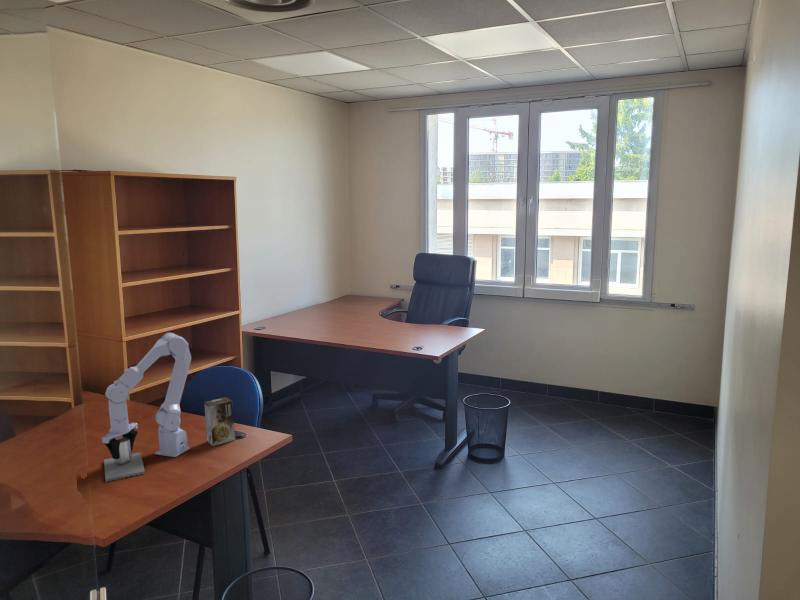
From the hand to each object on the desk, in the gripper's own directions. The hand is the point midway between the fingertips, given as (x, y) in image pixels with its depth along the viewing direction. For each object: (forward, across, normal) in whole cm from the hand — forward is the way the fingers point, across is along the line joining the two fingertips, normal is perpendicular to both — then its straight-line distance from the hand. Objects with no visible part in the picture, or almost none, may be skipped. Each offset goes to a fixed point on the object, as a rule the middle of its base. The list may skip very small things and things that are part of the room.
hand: (122, 454), depth 205 cm
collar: (+2, 0, 0) cm, 2 cm away
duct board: (+4, +2, +2) cm, 5 cm away
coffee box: (+4, -27, +22) cm, 35 cm away
